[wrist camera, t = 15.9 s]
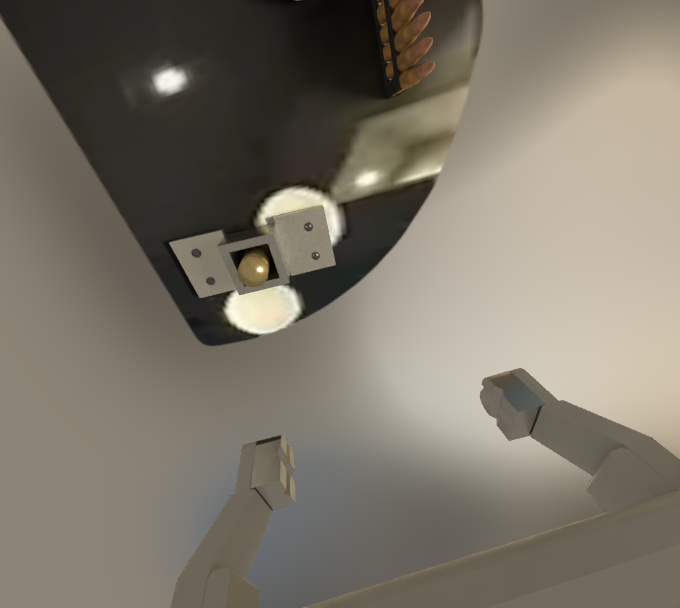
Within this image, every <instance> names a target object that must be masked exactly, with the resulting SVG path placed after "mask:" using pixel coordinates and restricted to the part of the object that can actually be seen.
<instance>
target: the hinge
mask: <svg viewBox="0 0 680 608" xmlns="http://www.w3.org/2000/svg"><path fill="white" fill-rule="evenodd" d="M273 220H274V223H272V224H268V225H264V226H260V227H255V228H251V229H247V230H242V231H238V232H234V233H230V234H225V232H224V229H223V228H222V229H217V230H213V231H209V232H204V233H200V234H196V235H192V236H187V237H183V238H179V239H174V240H171V241H170V242H169V244H170V246H171V248H172V249H173V251H174V253H175V255H176V256H177V258H178V260H179V262H180V264H181V265H182V267H183V269H184V271H185V273H186V274H187V276H188V278H189V280H190V281H191V283H192V285H193V287H194V289H195V290H196V292H197V294H198V296H199V298H202V297H207V296H211V295H215V294H219V293H223V292H227V291H231V290H235V289H237V291H238V293H239V295H242V294H246V293H251V292H255V291H259V290H263V289H267V288H271V287H275V286H279V285H283V284H287V283H290V274H291V276H292V275H297V274H301V273H305V272H309V271H313V270H317V269H321V268H325V267H329V266H333V265H336V264H335V260H334V255H333V250H332V245H331V240H330V236H329V231H328V226H327V221H326V217H325V212H324V207H323V205H321V206H317V207H312V208H308V209H304V210H299V211H295V212H291V213H286V214H282V215H278V216H273ZM267 243H268V245H269V248H270V251H271V254H272V256H273V259H274V262H275V265H272V266H269V271H268V278H267V280H266V282H265V283H264V284H263V285H261V286H259V287H249V286H246V285H244V284H243V283H242V282H241V281H240V280H239V278H238V275H237V271H238V268H239V265H240V263H241V260H242V258H243V255H242V253H241V251H240V250H242V249H246V248H250V247H254V246H259V245H263V244H267Z"/></svg>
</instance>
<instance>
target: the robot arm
mask: <svg viewBox="0 0 680 608" xmlns="http://www.w3.org/2000/svg"><path fill="white" fill-rule="evenodd" d="M482 385H483V386H484V388H483V390H482V391H481V392H480V399H481V402H482V405H483V407H484V408H485V410H486V411H487V413H488V414H489V415H490V416H492V417H494V418H496V419H497V426H498V427H499V428H500V430H501V431H502V432H503V434H504V435H505V436H506V438H507V439H508V440H509V441H511V440H514V439H518V438H522V437H526V436H530V435H531V437H532V438H533V439H535V440H537V441H538V442H540V443H541V444H543V445H545V446H546V447H548V448H549V449H551V450H553V451H554V452H556V453H557V454H559V455H560V456H562V457H563V458H565V459H567V460H568V461H570V462H571V463H573V464H575V465H577V466H578V467H579V468H581V469H583V470H584V471H586V472H587V473H589V474H590V475H592V476H593V477H592V478H591V480H590V481H589V483H588V484H587V485H586V491H587V492H588V493H589V494H590V495H591V497H592V498H593V499H594V500H595V501H596V502H597V503H598V505H599V506H600V507H601V508H602V509H603V510H604V511H605V513H603V514H600V515H597V516H594V517H591V518H587V519H584V520H581V521H577V522H574V523H571V524H568V525H565V526H561V527H559V528H555V529H552V530H549V531H546V532H543V533H539V534H536V535H533V536H530V537H526V538H523V539H520V540H517V541H514V542H510V543H508V544H504V545H501V546H498V547H495V548H492V549H488V550H485V551H482V552H479V553H475V554H472V555H469V556H466V557H463V558H460V559H456V560H453V561H450V562H447V563H444V564H441V565H437V566H434V567H431V568H428V569H424V570H421V571H418V572H415V573H412V574H408V575H405V576H402V577H399V578H396V579H392V580H389V581H386V582H383V583H380V584H377V585H374V586H370V587H367V588H364V589H361V590H358V591H354V592H351V593H348V594H345V595H342V596H339V597H335V598H332V599H329V600H326V601H323V602H319V603H316V604H313V605H310V606H306V607H303V608H680V459H678V458H677V457H676V456H674V455H673V454H672V453H671V452H669V451H668V450H667V449H666V448H664V447H663V446H662V445H661V444H659V443H658V442H657V441H656V440H654V439H653V438H651V437H649V436H647V435H644V434H642V433H640V432H637V431H635V430H632V429H630V428H628V427H625V426H623V425H621V424H618V423H616V422H613V421H611V420H608V419H606V418H604V417H602V416H599V415H597V414H594V413H592V412H590V411H587V410H585V409H583V408H580V407H578V406H575V405H573V404H571V403H568V402H566V401H563V400H562V401H558V400H557V399H556V398H555V397H554V396H553V395H552V394H551V393H550V392H548V391H547V390H546V389H545V388H544V387H543V386H542V385H541V384H540V383H539V382H537V381H536V380H535V379H534V378H533V377H532V376H531V375H530V374H529V373H528V372H526V371H525V370H524V369H522V368H519V369H515V370H512V371H508V372H503V373H500V374H497V375H493V376H490V377H487V378H484V379H483V381H482ZM294 471H295V465H294V457H293V452H292V449H291V447H290V445H288V444H286V438H285V436H284V434H283V435H279V436H275V437H272V438H267V439H264V440H260V441H256V442H252V443H248V444H245V445H244V446H243V448H242V450H241V457H240V462H239V469H238V476H237V482H236V488H235V494H233V495H231V496H230V497H229V499H228V500H227V502H226V503H225V505H224V506H223V508H222V510H221V511H220V513H219V514H218V516H217V518H216V519H215V521H214V523H213V524H212V526H211V527H210V529H209V530H208V532H207V533H206V535H205V537H204V538H203V540H202V541H201V543H200V545H199V546H198V548H197V549H196V551H195V553H194V554H193V556H192V557H191V559H190V560H189V562H188V564H187V565H186V567H185V569H184V570H183V572H182V573H181V575H180V576H179V578H178V580H177V584H176V588H175V591H174V595H173V599H172V603H171V607H170V608H259V593H260V591H259V590H258V588H257V587H256V586H255V585H253V584H252V583H250V582H249V581H247V580H246V579H245V577H246V575H247V572H248V570H249V568H250V565H251V563H252V561H253V559H254V556H255V554H256V551H257V549H258V546H259V544H260V542H261V539H262V537H263V535H264V533H265V530H266V528H267V525H268V523H269V521H270V518H271V516H272V514H273V510H276V509H280V508H283V507H286V506H289V505H292V504H295V482H294V481H293V479H292V477H291V476H292V475H293V473H294Z"/></svg>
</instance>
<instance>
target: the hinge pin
mask: <svg viewBox="0 0 680 608" xmlns="http://www.w3.org/2000/svg"><path fill="white" fill-rule="evenodd" d="M270 258H271V251H270V248H269V246H268V245H267V244H263V245H259V246H254V247H250V248H246V251H245V253H244V256H243V258H242V260H241V263H240V265H239V268H238V271H237V275H238V278H239V280H240V281H241V282H242V283H243V284H244V285H246V286H249V287H259V286H261V285H263V284H264V283H265V282H266V280H267V278H268V271H269V264H270Z"/></svg>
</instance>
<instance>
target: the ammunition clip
mask: <svg viewBox="0 0 680 608" xmlns="http://www.w3.org/2000/svg"><path fill="white" fill-rule="evenodd" d="M423 1H424V0H371V5H372V11H373V18H374V24H375V30H376V36H377V43H378V49H379V55H380V61H381V68H382V74H383V80H384V86H385V93H386V98H387V99H389V98H392V97H395V96H397V95H400V94H401V93H402V92H404V91H405V90H407V89H408V88H410V87H412V86H413V85H415V84H417V83H418V82H419V81H420V80H421V79H423V78H424V77H425V76H427V75H428V74H429V73H430V72H431V71H432V69H433V68H434V65H435V64H434V62H432V61H427V62H424V63H422V64H419V65H417V66H413V67H412V65H414V64H415V63H416V62H417V61H418V60H419V58H421V57H422V56H423V55H424V54H425V53H426V52H427V51H428V50H429V48H430V47H431V45H432V42H433V39H432V38H424V39H422V40H420V41H419V42H417V43H416V44H413V45H411V44H412V43H413V42H414V41H415V39H416V38H417V36H418V35H419V34H420V33H421V32H422V31H423V29H424V28H425V27H426V26H427V24H428V22H429V20H430V17H431V13H430V12H424V13H422V14H420V15H419V16H417V17H416V18H415V19H414V20H412V21H411V22H409V21H410V20H411V19H412V17H413V16H414V14H415V12H416V11H417V9H418V8H419V7H420V5H421V4H422V3H423ZM408 22H409V23H408ZM409 45H410V46H409ZM402 51H403V52H402ZM401 52H402V53H401ZM406 69H407V70H406ZM405 70H406V71H405ZM404 71H405V72H404ZM402 72H403V73H402ZM401 73H402V74H401Z"/></svg>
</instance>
